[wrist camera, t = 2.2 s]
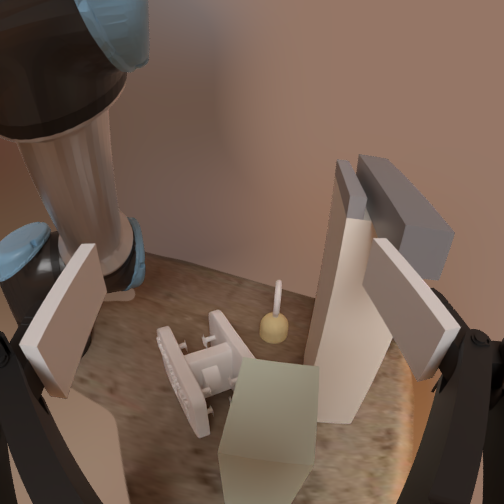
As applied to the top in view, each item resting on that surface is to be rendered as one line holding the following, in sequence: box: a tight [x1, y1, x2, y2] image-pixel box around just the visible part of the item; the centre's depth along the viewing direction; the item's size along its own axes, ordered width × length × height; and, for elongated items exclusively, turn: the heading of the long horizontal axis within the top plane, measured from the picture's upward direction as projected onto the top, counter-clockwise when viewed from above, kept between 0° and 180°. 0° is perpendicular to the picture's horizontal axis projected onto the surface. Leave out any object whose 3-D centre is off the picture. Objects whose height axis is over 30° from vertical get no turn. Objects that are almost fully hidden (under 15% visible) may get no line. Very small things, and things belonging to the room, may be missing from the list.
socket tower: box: [303, 160, 435, 424], centre depth 39 cm, size 8×14×34 cm, turn 170°
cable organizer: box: [156, 310, 256, 438], centre depth 43 cm, size 15×11×12 cm
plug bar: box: [356, 154, 455, 280], centre depth 26 cm, size 4×20×4 cm, turn 170°
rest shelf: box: [217, 357, 319, 504], centre depth 28 cm, size 7×10×20 cm
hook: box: [259, 280, 288, 343], centre depth 56 cm, size 6×5×12 cm
